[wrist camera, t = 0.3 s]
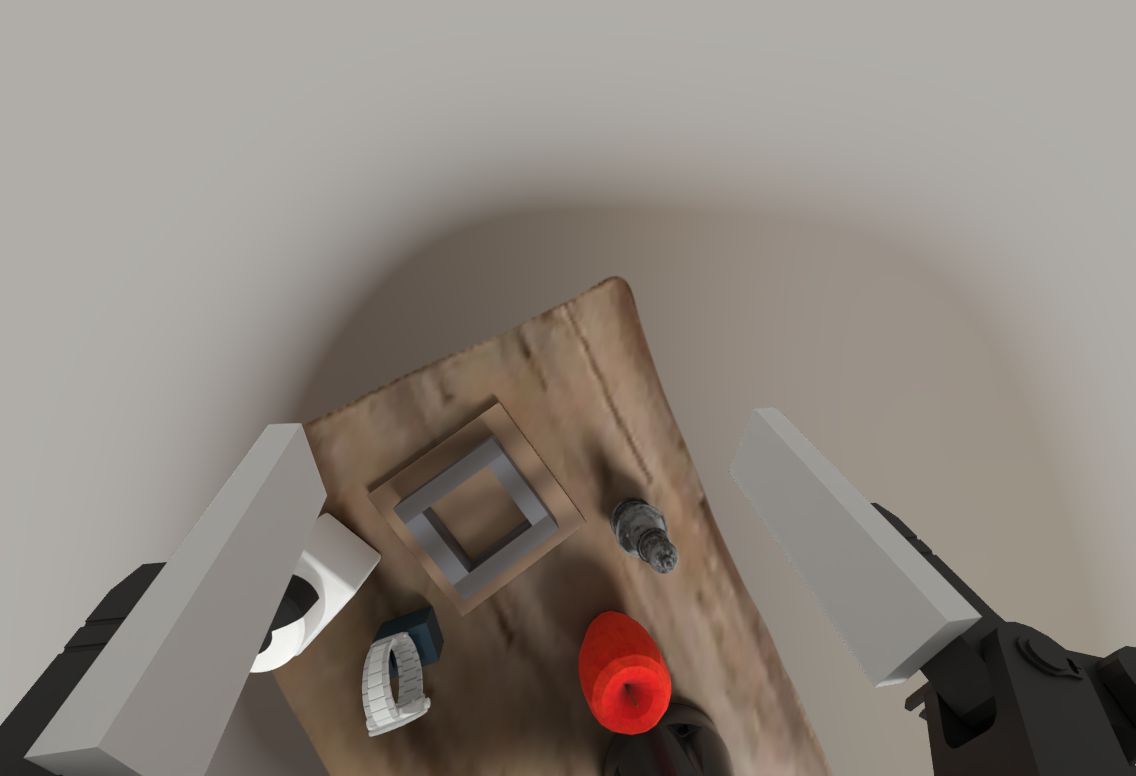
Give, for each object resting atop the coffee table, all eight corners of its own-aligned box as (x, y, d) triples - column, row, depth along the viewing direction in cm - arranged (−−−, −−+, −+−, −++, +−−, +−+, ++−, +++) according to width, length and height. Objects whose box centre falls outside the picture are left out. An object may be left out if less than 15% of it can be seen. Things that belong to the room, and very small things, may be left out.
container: (275, 565, 43) (172, 647, 30) (327, 510, 43) (248, 566, 30) (333, 610, 44) (257, 708, 31) (383, 555, 44) (329, 628, 31)
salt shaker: (663, 505, 48) (712, 547, 36) (644, 551, 48) (687, 608, 36) (619, 487, 47) (655, 524, 36) (600, 534, 47) (629, 586, 35)
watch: (400, 675, 45) (362, 771, 34) (377, 608, 44) (332, 684, 33) (449, 656, 45) (429, 745, 34) (428, 590, 45) (400, 659, 34)
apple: (556, 645, 47) (568, 725, 36) (596, 580, 47) (620, 640, 37) (618, 680, 48) (648, 767, 37) (657, 616, 48) (698, 684, 38)
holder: (585, 519, 47) (591, 532, 43) (463, 612, 45) (458, 634, 41) (499, 401, 45) (497, 403, 41) (369, 492, 44) (355, 504, 40)
